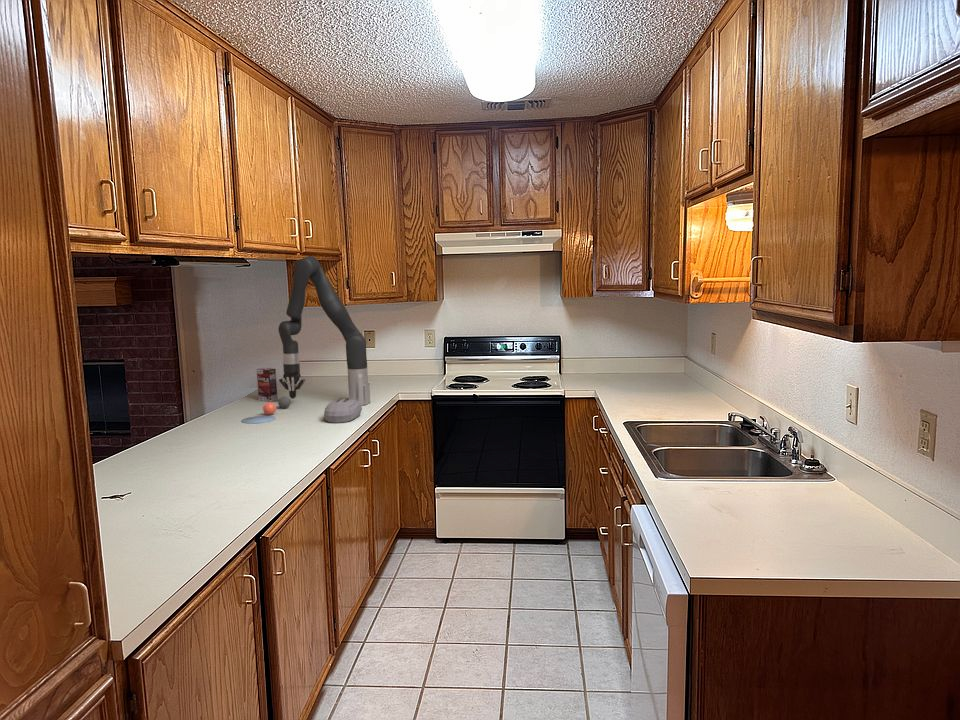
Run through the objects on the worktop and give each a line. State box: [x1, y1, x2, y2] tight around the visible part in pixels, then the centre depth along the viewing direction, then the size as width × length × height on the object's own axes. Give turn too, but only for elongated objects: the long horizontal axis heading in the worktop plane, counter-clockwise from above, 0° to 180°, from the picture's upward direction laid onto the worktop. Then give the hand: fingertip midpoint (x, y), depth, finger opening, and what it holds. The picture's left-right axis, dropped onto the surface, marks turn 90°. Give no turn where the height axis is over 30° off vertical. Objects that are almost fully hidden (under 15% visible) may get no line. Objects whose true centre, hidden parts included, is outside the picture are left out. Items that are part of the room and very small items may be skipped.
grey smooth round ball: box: [277, 396, 291, 409], centre depth 302 cm, size 6×6×6 cm
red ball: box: [262, 402, 277, 416], centre depth 288 cm, size 6×6×6 cm
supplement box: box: [256, 367, 278, 403], centre depth 322 cm, size 9×5×16 cm, turn 62°
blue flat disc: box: [240, 415, 276, 425], centre depth 279 cm, size 14×14×1 cm
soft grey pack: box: [323, 397, 363, 424], centre depth 277 cm, size 15×8×20 cm
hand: (293, 398), depth 311 cm, fingers closed
